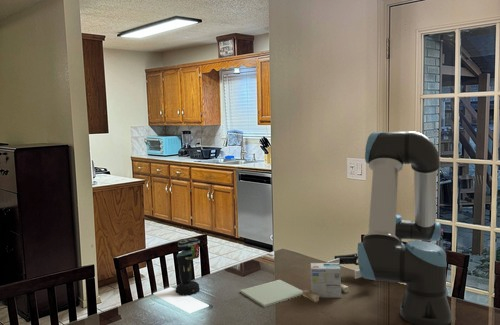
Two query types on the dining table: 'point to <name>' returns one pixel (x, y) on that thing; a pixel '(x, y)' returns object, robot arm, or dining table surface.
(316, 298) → the beige rectangular blocks
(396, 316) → the dining table surface
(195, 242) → the cordless drill
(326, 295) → the light bulb box
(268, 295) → the mat
